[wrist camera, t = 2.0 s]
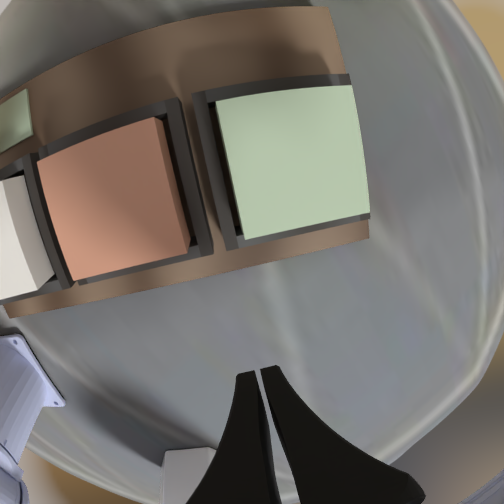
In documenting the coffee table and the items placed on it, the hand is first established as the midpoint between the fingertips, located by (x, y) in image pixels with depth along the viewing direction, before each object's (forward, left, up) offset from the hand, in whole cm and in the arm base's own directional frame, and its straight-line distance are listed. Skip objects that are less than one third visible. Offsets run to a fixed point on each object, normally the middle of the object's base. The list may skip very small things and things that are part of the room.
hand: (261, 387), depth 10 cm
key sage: (+3, +8, -5) cm, 10 cm away
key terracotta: (-5, +7, -5) cm, 10 cm away
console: (-4, +9, -8) cm, 13 cm away
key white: (-13, +8, -5) cm, 16 cm away
